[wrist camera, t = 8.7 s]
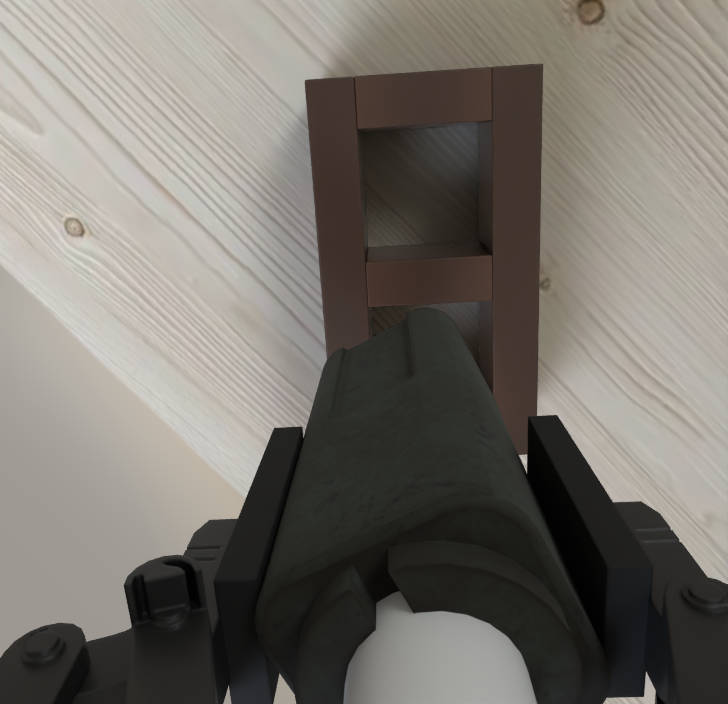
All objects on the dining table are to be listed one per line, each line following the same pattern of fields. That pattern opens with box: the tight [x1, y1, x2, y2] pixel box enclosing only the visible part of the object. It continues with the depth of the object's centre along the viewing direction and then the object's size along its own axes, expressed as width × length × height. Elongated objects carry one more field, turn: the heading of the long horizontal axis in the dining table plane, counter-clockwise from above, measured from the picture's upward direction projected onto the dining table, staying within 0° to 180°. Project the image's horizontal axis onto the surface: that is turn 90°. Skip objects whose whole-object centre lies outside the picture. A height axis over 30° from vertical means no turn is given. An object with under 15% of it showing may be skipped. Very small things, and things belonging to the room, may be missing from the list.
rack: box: [305, 64, 543, 455], centre depth 34 cm, size 10×19×5 cm, turn 4°
